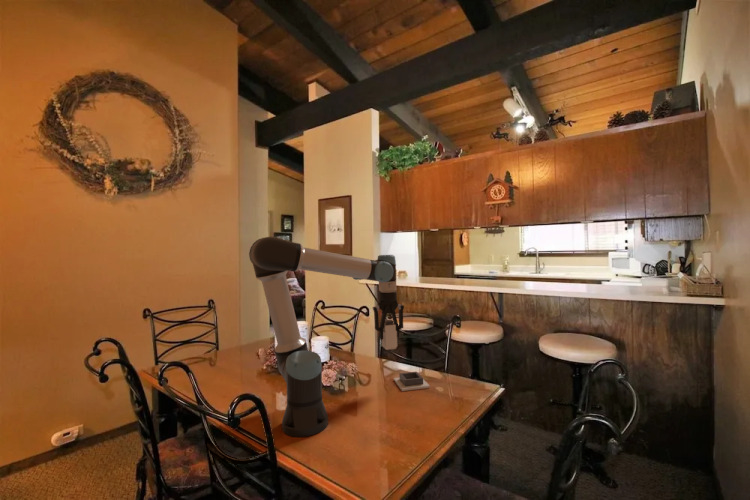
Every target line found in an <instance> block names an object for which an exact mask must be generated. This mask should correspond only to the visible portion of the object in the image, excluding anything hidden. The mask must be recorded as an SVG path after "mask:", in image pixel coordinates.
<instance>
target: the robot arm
mask: <svg viewBox="0 0 750 500" xmlns="http://www.w3.org/2000/svg"><path fill="white" fill-rule="evenodd" d="M248 257H249V260H250V262H251V264H252V266H253V270H254V273H255V275H254V276H255V278H256V280H259V281H260V282H261V284H262V288H263V291H264V296H265V300H266V303H267V308H268V312H269V316H270V320H271V322H272V323H271V324H272V328H273V330H274V335H275V338H276V342H277V343H276V346H275V348H274V353H275V358H276V367H277V370H278V372H279V374H280V375H281V376H282V378H283V380H284V381H285V382H286V407H285V411H284V413H283V417H282V419H281V430H282V432H283V433H284V434H286V435H287V436H291V437H295V438H303V437H310V436H314V435H317V434H319V433H320V432H323V431H324V430H325V429H326V428H327V427H328V424H329V416H328V415H329V414H328V412H327V409H326V406H325V404H324V401H323V374H322V372H323V371H322V370H323V363H322V358H321V356H320V355H319V354H318V352H315V351H312V350H309V347H308V343H307V340H306V339H305V338H303V337H302V336H301V333H300V329H299V325H298V321H297V317H296V312H295V309H294V308H295V307H294V303H293V301H292V296H291V292H290V286H289V284H288V280H287V274H288V272H298V271H300V270H301V271H307V272H314V273H315V272H316V273H322V274H329V275H335V276H342V277H346V278H347V277H348V278H351V279H353V280H356V281H357V280H359V281H361V280H367V281H372V282H373V281H375V282H378V290H379V292H378V300H379V301H378V305H376V306H373V307H372V311H373V315H374V317H373V318H374V329H375V331H377V332H379V339H380V340H381V343H382V344H381V346H382V347H383V348H384V349H385V332H384V331H383V329H384V324H385V320H386V318H387V315H388V314H390V315H391V318H392V319H391V320H392V321H393V323H394V324H395V325H396V347H398V338H400V330H401V329H404V309H405V305H403V304H399V302H398V293H397V290H398V289H397V263H396V261H397V260H396V256H395V255H393V254H379V255H377V259H369V258H363V257H358V256H354V255H353V256H352V255H347V254H341V253H335V252H329V251H327V250H321V249H320V250H319V249H314V248H309V247H304V246H303V245H302V244H301V243H299V242H294V241H290V240H286V239H283V238H280V237H277V236H265V237H261V238H259V239H257V240H255V242H253V243H252V245H251V246H250V249H249V253H248ZM379 309H380V310H381V316H380V321H379ZM397 309H398V319H397V314H396V310H397ZM379 322H380V323H379Z"/></svg>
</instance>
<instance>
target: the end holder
mask: <svg viewBox="0 0 750 500" xmlns="http://www.w3.org/2000/svg"><path fill="white" fill-rule="evenodd" d="M393 381H394V383H395V384H396V385H397V386H398V389H400V391H401V392H407V391H408V392H409V391H415V390H423V389H424V390H425V389H430V388H431V387H430V384H429V383H428V382H427V381H426V380H425V378H424V377H423V376H422V375H421V374H420V373H419V372H418V371H411V372H410V371H409V372H402V373H400V372H399V377H393Z"/></svg>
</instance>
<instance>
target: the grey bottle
mask: <svg viewBox="0 0 750 500" xmlns="http://www.w3.org/2000/svg"><path fill="white" fill-rule="evenodd" d="M383 331H384V332H385V348H384V350H386V351H387V350H396V349H397V346H396V325H395V324H394V322H393V319H385V324H384V329H383Z"/></svg>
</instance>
